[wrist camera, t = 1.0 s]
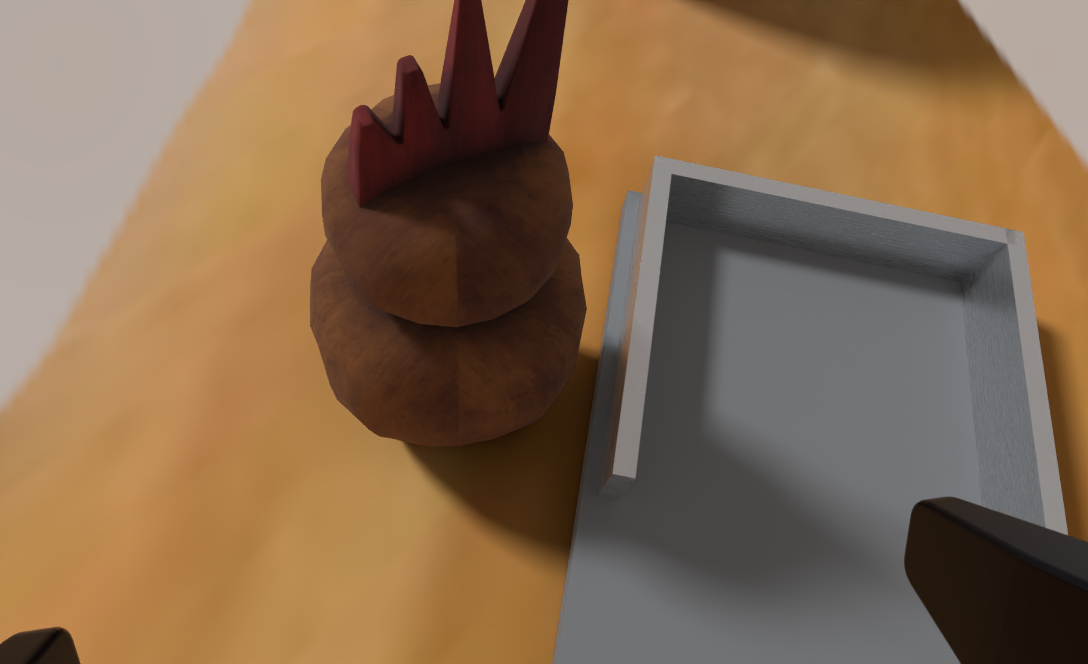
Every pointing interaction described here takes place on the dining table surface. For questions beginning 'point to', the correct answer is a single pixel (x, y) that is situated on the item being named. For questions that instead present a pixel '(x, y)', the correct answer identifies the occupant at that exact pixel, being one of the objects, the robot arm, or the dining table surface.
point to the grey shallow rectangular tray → (794, 422)
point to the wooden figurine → (453, 244)
